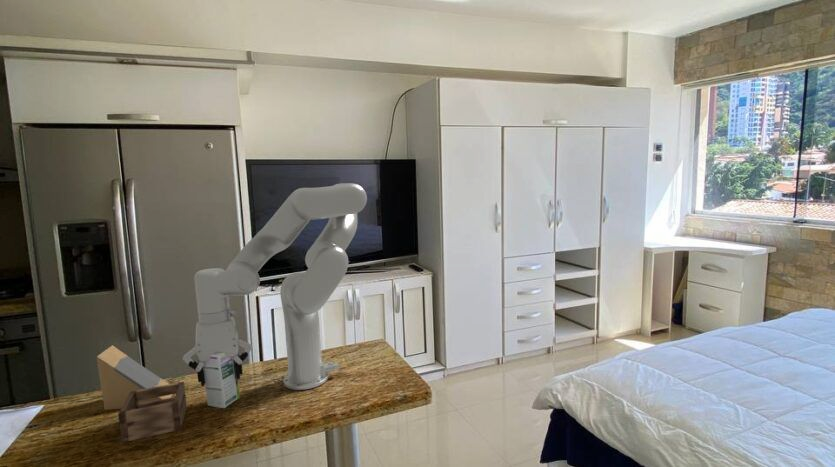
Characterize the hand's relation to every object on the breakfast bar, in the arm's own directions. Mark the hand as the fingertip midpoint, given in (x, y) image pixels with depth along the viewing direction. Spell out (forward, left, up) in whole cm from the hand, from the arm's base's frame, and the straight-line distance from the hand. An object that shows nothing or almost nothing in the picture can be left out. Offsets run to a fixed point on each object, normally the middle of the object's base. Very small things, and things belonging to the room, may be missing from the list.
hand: (221, 380), depth 117 cm
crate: (+15, +4, -6) cm, 17 cm away
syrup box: (0, 0, -6) cm, 6 cm away
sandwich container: (+21, -12, -6) cm, 25 cm away
